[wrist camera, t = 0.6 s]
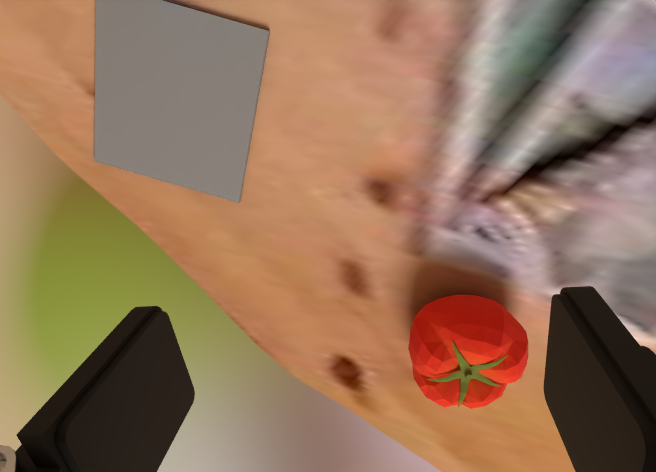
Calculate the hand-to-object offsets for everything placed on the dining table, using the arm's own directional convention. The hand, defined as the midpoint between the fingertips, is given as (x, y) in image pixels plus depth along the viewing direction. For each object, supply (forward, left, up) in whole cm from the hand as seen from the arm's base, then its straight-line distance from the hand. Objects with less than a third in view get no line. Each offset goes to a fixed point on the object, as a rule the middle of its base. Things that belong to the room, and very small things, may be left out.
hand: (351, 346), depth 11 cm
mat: (+4, -20, -33) cm, 39 cm away
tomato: (+20, +15, -34) cm, 42 cm away
